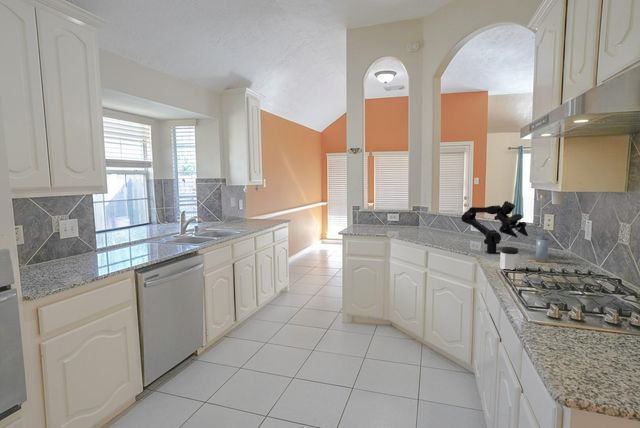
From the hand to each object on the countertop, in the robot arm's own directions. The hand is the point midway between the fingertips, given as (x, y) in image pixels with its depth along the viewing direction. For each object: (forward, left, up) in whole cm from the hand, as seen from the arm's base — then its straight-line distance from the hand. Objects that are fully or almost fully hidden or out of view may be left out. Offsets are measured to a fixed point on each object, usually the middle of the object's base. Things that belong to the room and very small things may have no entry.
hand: (522, 236), depth 215 cm
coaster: (+9, +7, -15) cm, 18 cm away
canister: (+9, +7, -14) cm, 18 cm away
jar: (+21, -20, -15) cm, 33 cm away
